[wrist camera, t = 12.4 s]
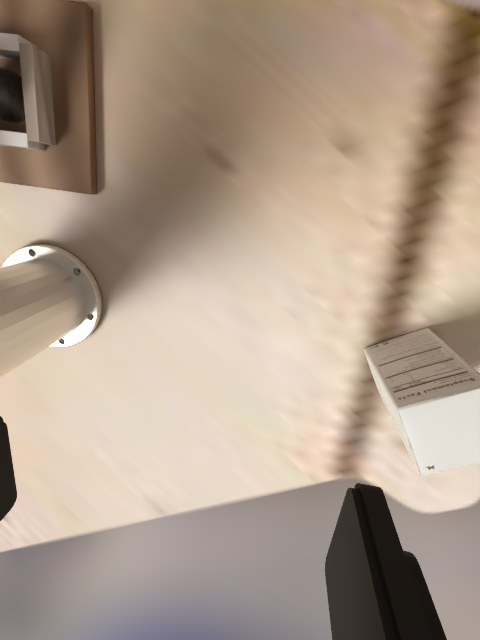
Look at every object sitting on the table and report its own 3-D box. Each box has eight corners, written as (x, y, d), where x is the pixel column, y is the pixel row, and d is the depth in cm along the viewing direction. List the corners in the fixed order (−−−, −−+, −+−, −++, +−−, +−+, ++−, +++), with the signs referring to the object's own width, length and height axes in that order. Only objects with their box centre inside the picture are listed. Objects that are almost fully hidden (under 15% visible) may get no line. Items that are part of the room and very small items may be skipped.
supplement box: (444, 380, 39) (513, 459, 28) (380, 398, 41) (418, 480, 29) (429, 324, 37) (496, 383, 26) (361, 346, 39) (395, 410, 27)
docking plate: (92, 9, 31) (68, -14, 28) (97, 194, 37) (77, 194, 33) (-69, -6, 32) (-111, -31, 29) (-41, 175, 38) (-73, 173, 34)
